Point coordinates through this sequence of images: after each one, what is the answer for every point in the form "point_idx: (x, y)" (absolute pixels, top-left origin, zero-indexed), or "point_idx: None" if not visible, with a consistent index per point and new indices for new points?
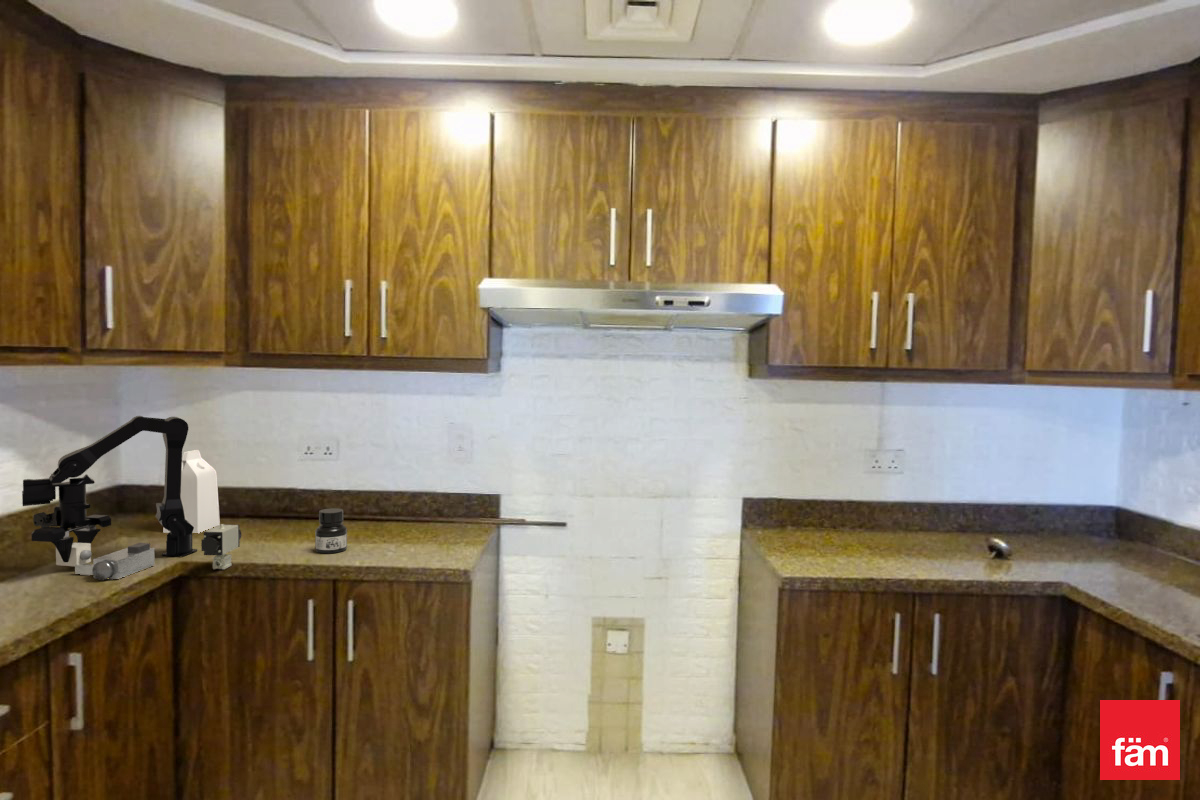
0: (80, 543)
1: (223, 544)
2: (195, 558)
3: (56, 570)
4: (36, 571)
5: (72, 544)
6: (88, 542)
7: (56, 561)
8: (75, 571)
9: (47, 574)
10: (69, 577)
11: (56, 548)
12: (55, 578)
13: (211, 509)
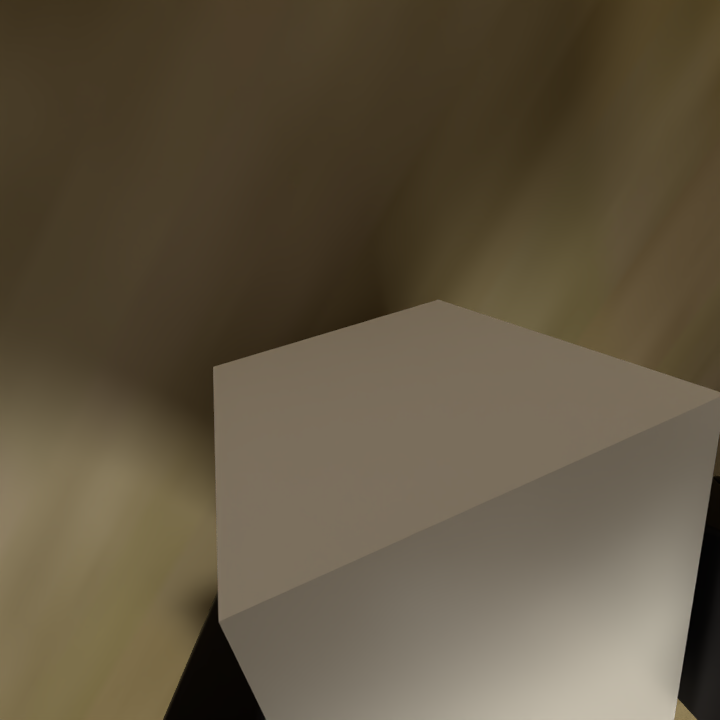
0: (644, 680)
1: None
2: (682, 706)
3: (219, 336)
4: (24, 119)
5: (556, 669)
6: (699, 717)
7: (216, 393)
8: None
9: (57, 423)
10: (147, 687)
11: (227, 576)
12: (37, 644)
13: None
